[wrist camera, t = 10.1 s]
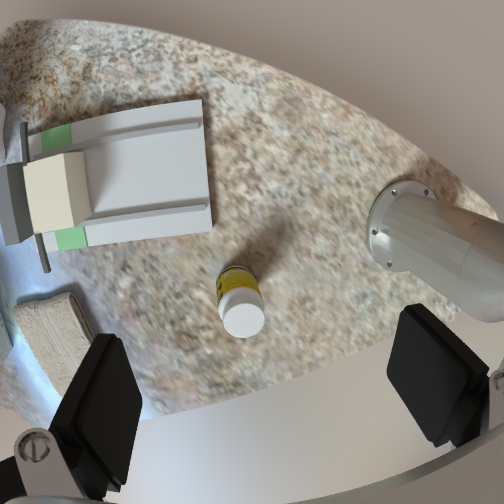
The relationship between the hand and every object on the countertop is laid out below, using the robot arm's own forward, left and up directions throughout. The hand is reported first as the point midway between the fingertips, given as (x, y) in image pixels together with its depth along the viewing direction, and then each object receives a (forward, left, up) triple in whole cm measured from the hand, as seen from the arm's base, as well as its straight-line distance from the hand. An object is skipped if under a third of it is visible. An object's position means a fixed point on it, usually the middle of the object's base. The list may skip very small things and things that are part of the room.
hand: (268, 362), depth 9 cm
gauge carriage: (+17, -5, -24) cm, 29 cm away
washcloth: (+25, +17, -26) cm, 40 cm away
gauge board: (+12, -5, -25) cm, 28 cm away
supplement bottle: (-1, +9, -25) cm, 27 cm away
